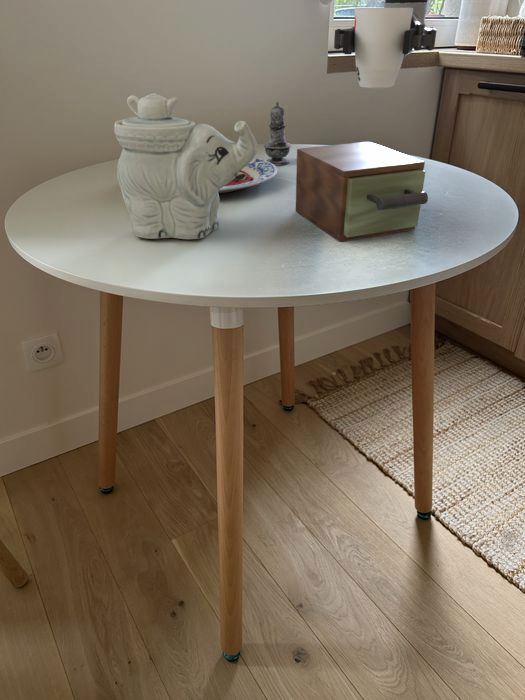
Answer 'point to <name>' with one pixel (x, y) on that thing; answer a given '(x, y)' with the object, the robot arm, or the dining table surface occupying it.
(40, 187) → the dining table surface
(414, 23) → the robot arm
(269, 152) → the salt shaker
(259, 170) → the ceramic plate
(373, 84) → the cup
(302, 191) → the cabinet
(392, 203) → the drawer
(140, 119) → the teapot
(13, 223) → the dining table surface
